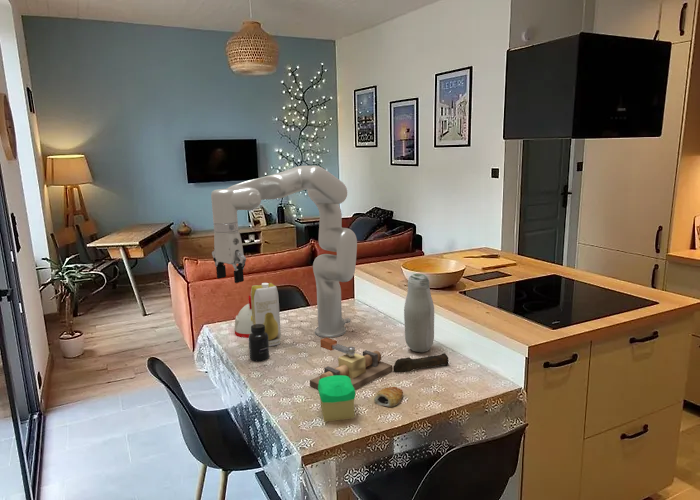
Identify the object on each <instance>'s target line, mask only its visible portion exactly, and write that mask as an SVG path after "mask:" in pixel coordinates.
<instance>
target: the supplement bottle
mask: <svg viewBox="0 0 700 500" xmlns="http://www.w3.org/2000/svg"><path fill="white" fill-rule="evenodd" d="M251 332H252V333H251V334H250V335H249V338H248V351H249V359H250V361H252V362H255V363H259V362H265V361H267V360H268V359H270V346H269V340H268V334H267V333H266V332H265V325H263V324H255V325H252V326H251Z"/></svg>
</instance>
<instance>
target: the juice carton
mask: <svg viewBox="0 0 700 500" xmlns="http://www.w3.org/2000/svg"><path fill="white" fill-rule="evenodd" d="M250 296H251V306H252V320H253V325H255V324H263V325H265V332H266V333H267V334H268V340H269V347H274V346H278V345H280V344H281V318H280V317H281V316H280V303H279V292H278V288H277V286H276V285H275V284H274V283H272V282H269V283H268V282H262V283H261V284H259V285H257V284H256V285H251V290H250Z"/></svg>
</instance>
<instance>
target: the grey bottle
mask: <svg viewBox="0 0 700 500" xmlns="http://www.w3.org/2000/svg"><path fill="white" fill-rule="evenodd" d="M432 297H433V296H432V294H431V289H430V280H429V278H428V276H426V275H425V274H422V273H413V274H411V275H410V276H409V278H408V281H407V292H406V297H405V301H404V307H403V308H404V309H403V315H404V316H403V318H404V340H405V343H406V345H407V346H408V348H409V349H410V350H412V351H413V352H416V353H425V352H427V351H429V350H430V349H431V348H432V347H433V344H434V340H435V304H434V302H433V301H434V300H433V298H432Z"/></svg>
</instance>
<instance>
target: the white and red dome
mask: <svg viewBox="0 0 700 500" xmlns="http://www.w3.org/2000/svg"><path fill="white" fill-rule="evenodd" d="M252 325H253V320H252V306H251V295H248V303H247V304H245V305H244V306H243V307H242V308H241V309H240V310H239V312H238V314H237V315H235V319H234V335H235V336H236V337H238V338H242V337H243V338H242V339H244V338H245V339H249V335H250V334H251V333H252V332H251V326H252Z"/></svg>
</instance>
